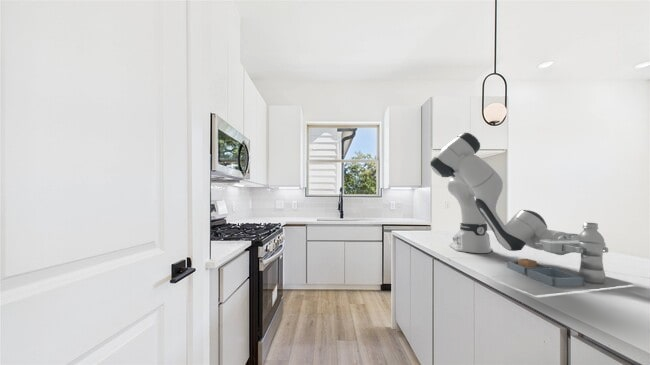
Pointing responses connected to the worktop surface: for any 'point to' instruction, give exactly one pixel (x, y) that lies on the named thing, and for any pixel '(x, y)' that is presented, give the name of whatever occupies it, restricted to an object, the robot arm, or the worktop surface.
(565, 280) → the tray
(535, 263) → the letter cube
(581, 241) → the plastic bottle
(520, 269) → the blue-gray square tray
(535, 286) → the worktop surface
